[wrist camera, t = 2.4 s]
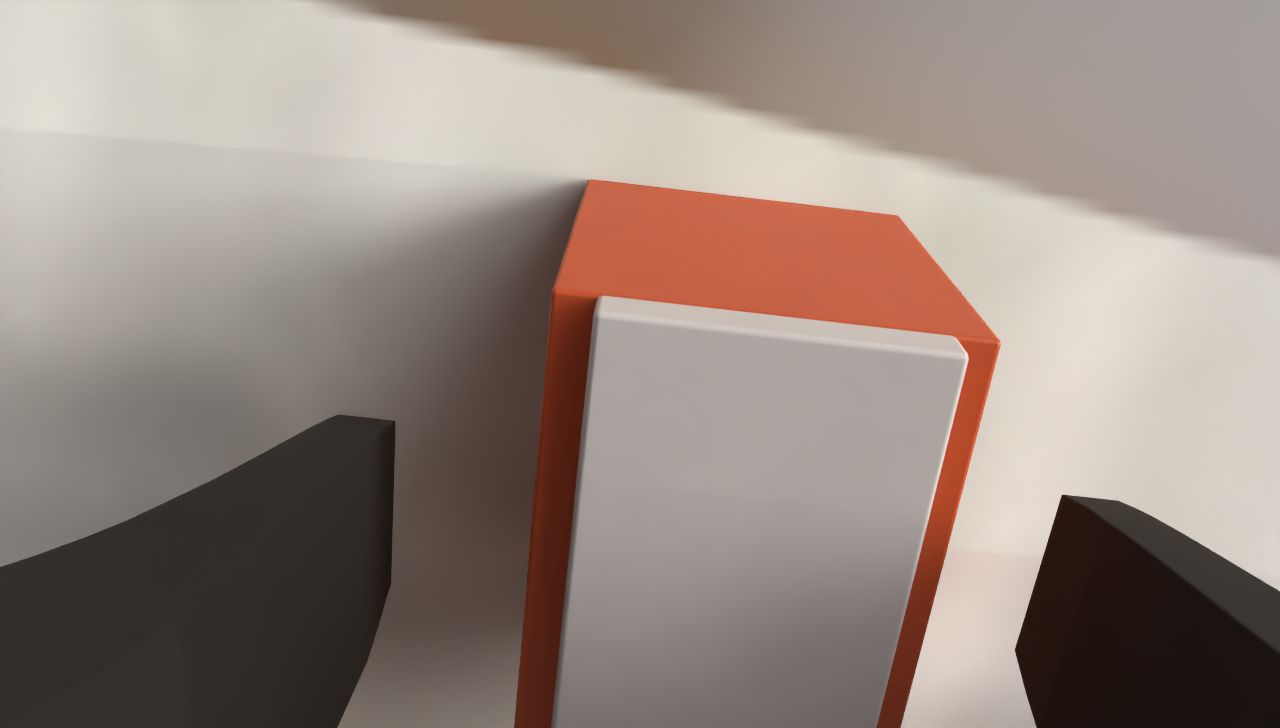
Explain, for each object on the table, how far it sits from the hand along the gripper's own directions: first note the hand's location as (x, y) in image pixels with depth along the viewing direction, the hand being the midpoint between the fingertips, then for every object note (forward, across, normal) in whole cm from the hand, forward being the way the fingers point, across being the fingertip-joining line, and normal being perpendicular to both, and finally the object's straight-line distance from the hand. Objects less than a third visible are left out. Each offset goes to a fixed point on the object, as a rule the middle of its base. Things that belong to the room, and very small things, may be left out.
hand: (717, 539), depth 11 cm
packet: (+3, 0, 0) cm, 3 cm away
